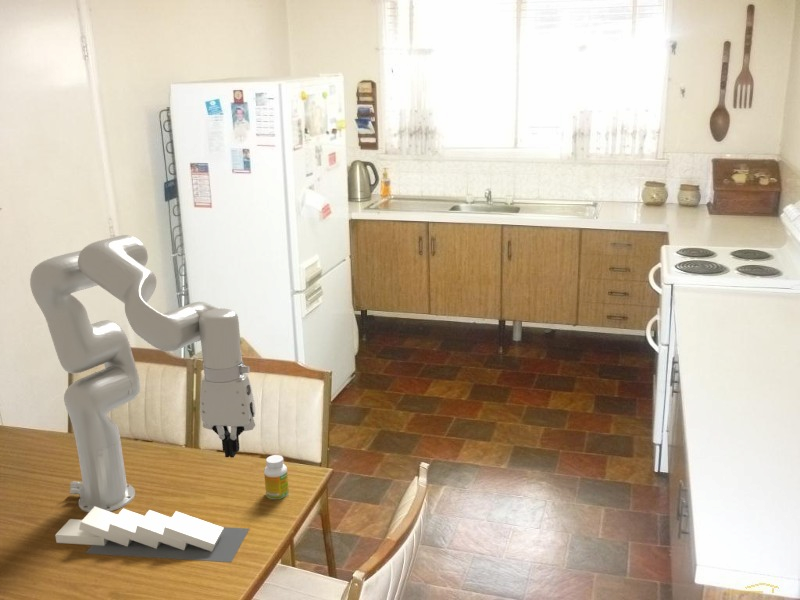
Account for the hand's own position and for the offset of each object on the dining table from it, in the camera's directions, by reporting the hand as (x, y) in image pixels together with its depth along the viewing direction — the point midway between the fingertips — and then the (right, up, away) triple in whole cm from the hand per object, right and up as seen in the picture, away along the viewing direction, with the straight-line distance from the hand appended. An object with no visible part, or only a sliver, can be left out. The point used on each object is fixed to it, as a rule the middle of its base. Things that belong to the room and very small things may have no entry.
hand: (231, 454), depth 156 cm
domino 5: (-4, -20, +7) cm, 21 cm away
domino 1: (-28, -19, +10) cm, 36 cm away
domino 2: (-23, -19, +9) cm, 31 cm away
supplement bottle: (+5, -15, +26) cm, 31 cm away
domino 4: (-10, -20, +7) cm, 23 cm away
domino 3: (-16, -19, +8) cm, 27 cm away
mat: (-15, -21, +8) cm, 27 cm away
